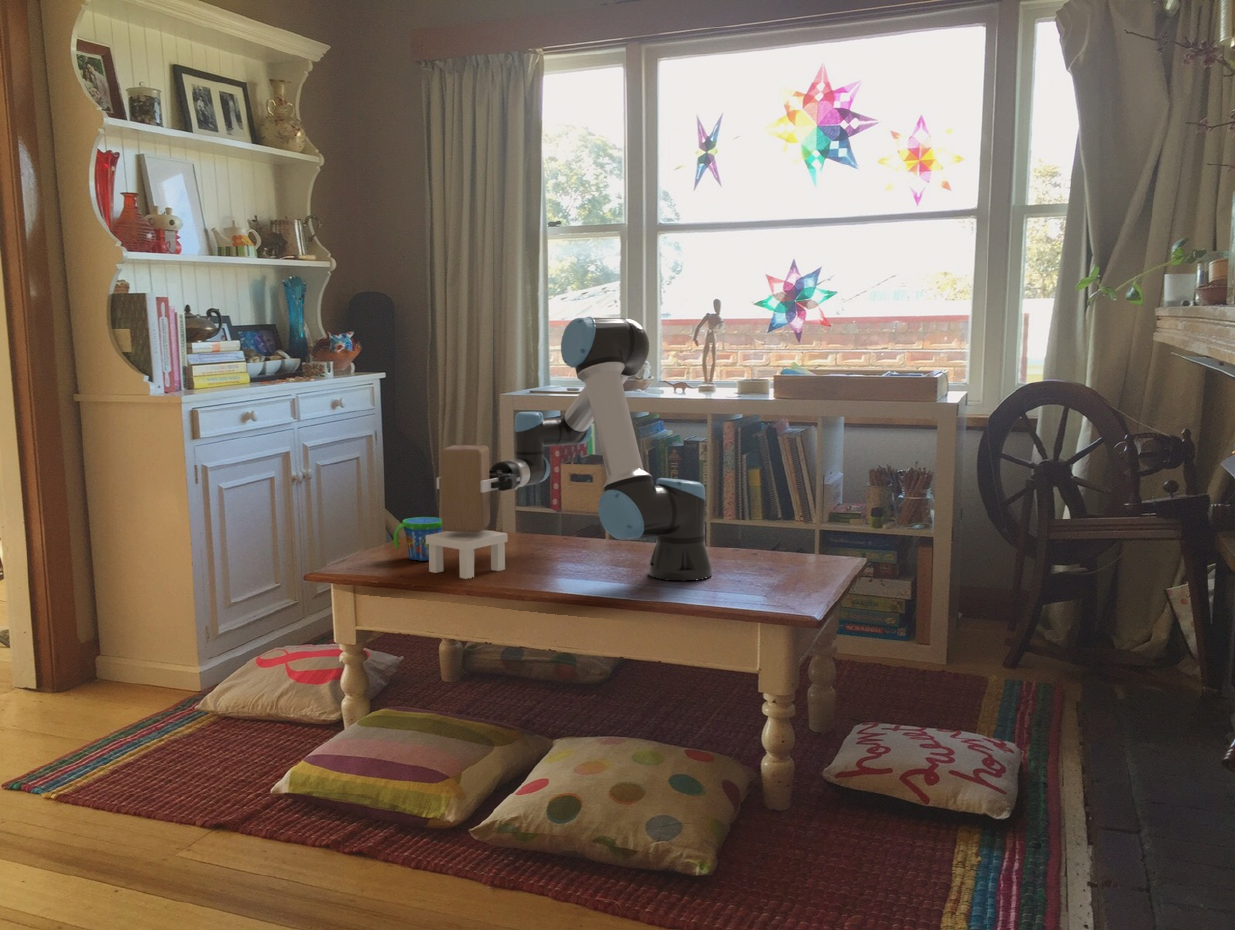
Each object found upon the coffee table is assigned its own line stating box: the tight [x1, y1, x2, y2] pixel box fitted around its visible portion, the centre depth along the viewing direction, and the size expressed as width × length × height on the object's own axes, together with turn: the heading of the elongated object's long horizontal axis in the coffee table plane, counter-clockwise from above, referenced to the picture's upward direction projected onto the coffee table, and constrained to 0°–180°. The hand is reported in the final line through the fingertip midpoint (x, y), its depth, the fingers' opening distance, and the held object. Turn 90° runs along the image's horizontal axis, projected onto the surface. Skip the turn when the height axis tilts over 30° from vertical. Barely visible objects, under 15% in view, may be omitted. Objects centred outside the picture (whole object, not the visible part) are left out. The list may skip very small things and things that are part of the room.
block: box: [439, 444, 491, 532], centre depth 249 cm, size 10×10×20 cm
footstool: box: [426, 529, 509, 580], centre depth 251 cm, size 14×14×9 cm
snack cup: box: [392, 516, 443, 562], centre depth 264 cm, size 16×10×10 cm
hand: (459, 485), depth 246 cm, fingers closed on block, 12 cm apart
